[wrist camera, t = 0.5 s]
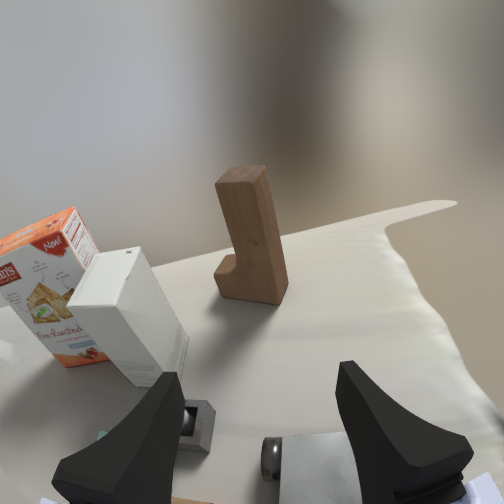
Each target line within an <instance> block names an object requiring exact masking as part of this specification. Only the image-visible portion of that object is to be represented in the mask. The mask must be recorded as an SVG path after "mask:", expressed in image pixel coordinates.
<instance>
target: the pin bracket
mask: <svg viewBox="0 0 504 504" xmlns="http://www.w3.org/2000/svg"><path fill="white" fill-rule="evenodd" d="M185 410H186V411H187V412H188V413H189V414H190V415H191V416H192V417H196V422H195V428H194V433H193V437H189V436H180V439H179V444H178V448H177V450H184V451H193V452H204V453H210V447H211V440H212V434H213V427H214V420H215V414H216V411H215V410H214V409H213V408H212V406H211V405H210V404H209V403H208V401H207V400H185Z"/></svg>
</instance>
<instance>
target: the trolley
mask: <svg viewBox="0 0 504 504" xmlns="http://www.w3.org/2000/svg"><path fill="white" fill-rule="evenodd" d="M261 471H262V477H263V480H264V481H280V498H279V504H362V497H361V490H360V484H359V478H358V472H357V467H356V463H355V458H354V454H353V451H352V448H351V445H350V442H349V439H348V436H347V433H346V431H343V432H333V433H323V434H310V435H293V436H283V437H265V438H264V441H263V445H262V452H261Z"/></svg>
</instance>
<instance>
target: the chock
mask: <svg viewBox="0 0 504 504" xmlns="http://www.w3.org/2000/svg"><path fill="white" fill-rule="evenodd" d="M171 504H213V503H208V502H201V501H194V500H187V499H182V498H176V497H171Z"/></svg>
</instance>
